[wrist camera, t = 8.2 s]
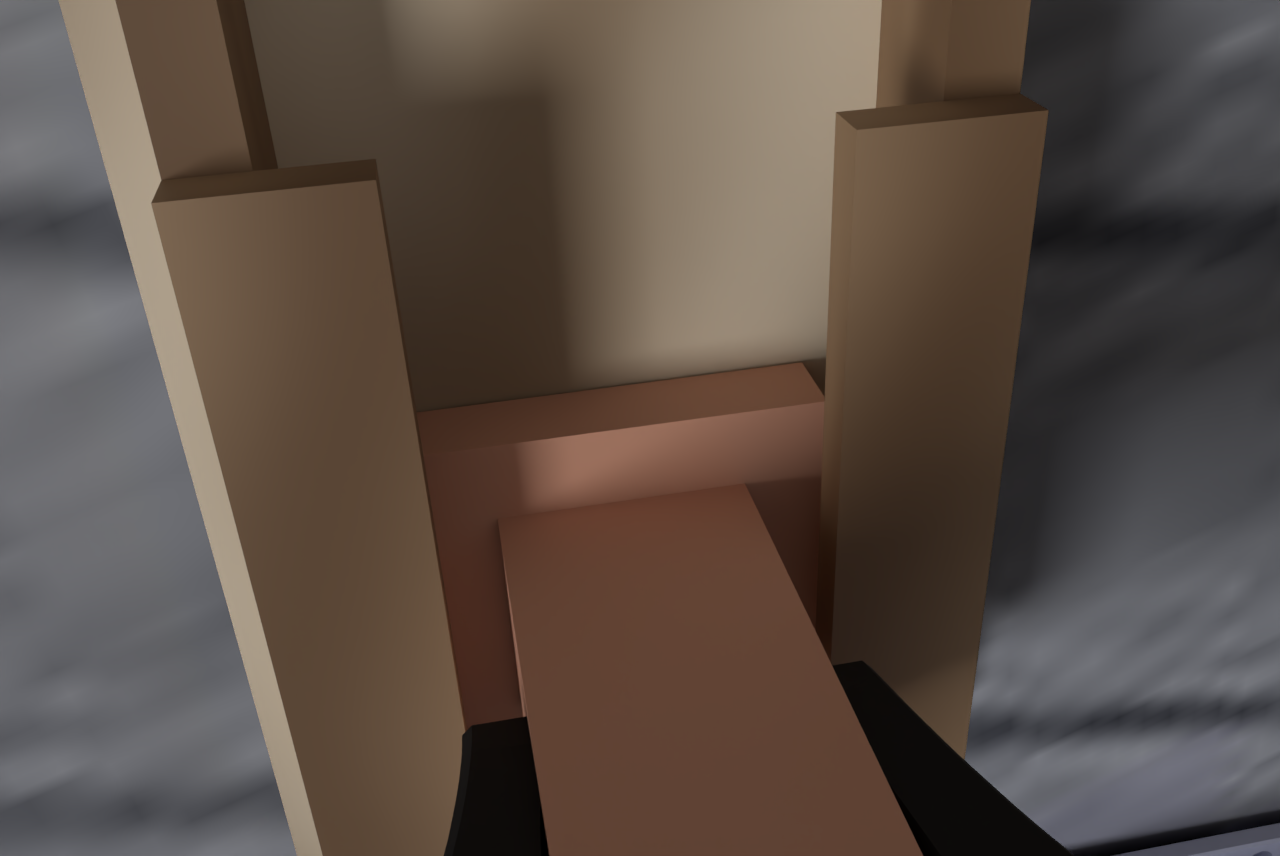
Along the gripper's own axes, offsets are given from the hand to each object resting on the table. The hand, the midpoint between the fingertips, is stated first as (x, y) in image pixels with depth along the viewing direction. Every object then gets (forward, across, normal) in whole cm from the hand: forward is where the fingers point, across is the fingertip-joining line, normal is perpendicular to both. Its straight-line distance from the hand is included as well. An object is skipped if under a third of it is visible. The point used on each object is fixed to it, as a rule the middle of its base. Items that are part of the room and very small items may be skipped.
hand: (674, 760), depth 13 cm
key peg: (+4, 0, 0) cm, 4 cm away
